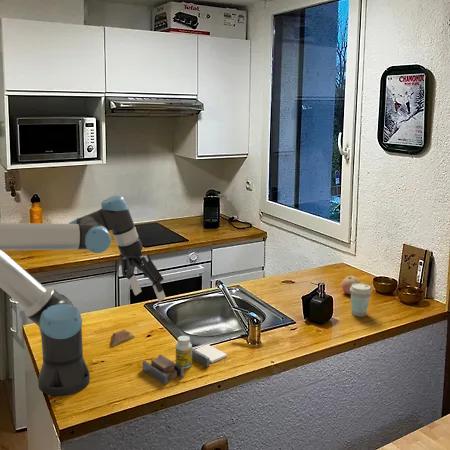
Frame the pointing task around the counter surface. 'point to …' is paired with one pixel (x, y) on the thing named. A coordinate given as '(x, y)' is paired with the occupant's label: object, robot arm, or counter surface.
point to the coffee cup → (360, 299)
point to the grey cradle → (180, 371)
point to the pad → (211, 353)
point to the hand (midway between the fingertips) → (149, 296)
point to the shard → (121, 337)
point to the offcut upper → (162, 364)
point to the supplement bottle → (184, 352)
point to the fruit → (349, 283)
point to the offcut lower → (172, 374)
